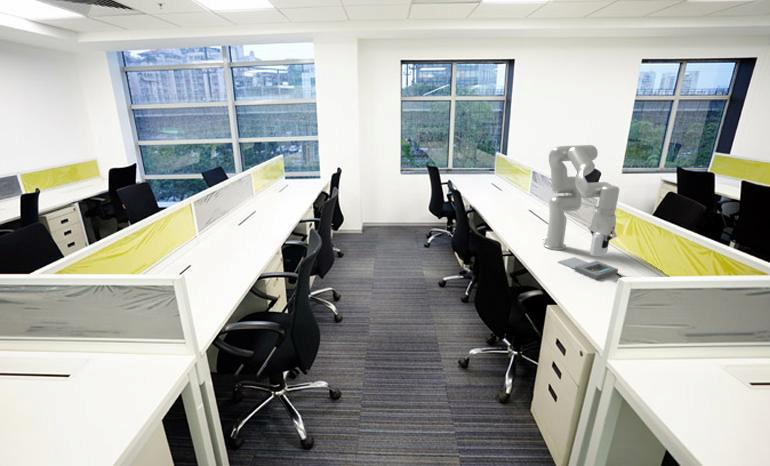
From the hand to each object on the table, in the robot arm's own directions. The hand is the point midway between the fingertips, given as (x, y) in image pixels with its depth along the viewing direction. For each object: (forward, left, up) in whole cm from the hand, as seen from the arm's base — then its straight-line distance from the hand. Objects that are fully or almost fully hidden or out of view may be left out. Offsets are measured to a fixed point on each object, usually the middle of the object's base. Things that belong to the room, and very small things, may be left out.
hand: (599, 245), depth 182 cm
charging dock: (0, 0, -15) cm, 15 cm away
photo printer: (0, 0, -5) cm, 5 cm away
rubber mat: (-13, 0, -15) cm, 19 cm away
